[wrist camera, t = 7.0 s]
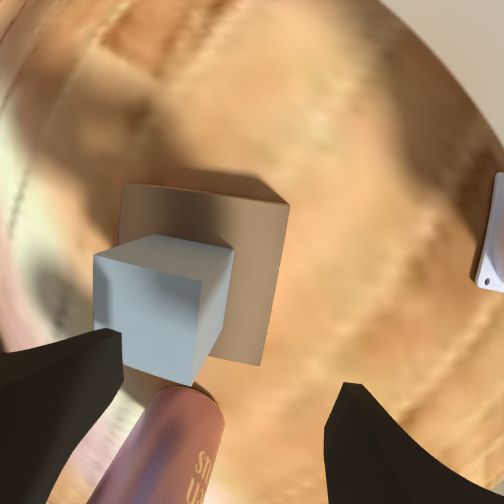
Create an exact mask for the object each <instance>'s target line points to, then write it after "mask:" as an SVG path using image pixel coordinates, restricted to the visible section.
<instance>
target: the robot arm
mask: <svg viewBox="0 0 504 504" xmlns="http://www.w3.org/2000/svg"><path fill="white" fill-rule="evenodd" d="M486 279H487V281H486V283H485V280H486ZM475 284H476V286H478V287H480V288H484V289H490V290H495V291H500V292H504V173H503V172H498V173H497V174H496V175H495V182H494V190H493V197H492V204H491V210H490V216H489V222H488V227H487V232H486V237H485V242H484V246H483V250H482V255H481V259H480V263H479V266H478V270H477V274H476V277H475ZM123 381H124V375H123V357H122V333H121V332H118V331H115V330H112V329H109V328H102V329H98V330H94V331H91V332H88V333H84V334H81V335H78V336H75V337H71V338H68V339H65V340H61V341H58V342H55V343H51V344H47V345H43V346H39V347H35V348H31V349H27V350H22V351H17V352H11V353H3V354H0V504H46V502H47V499H48V497H49V495H50V493H51V490H52V488H53V486H54V484H55V482H56V481H57V479H58V477H59V475H60V473H61V471H62V469H63V467H64V466H65V464H66V462H67V461H68V459H69V457H70V455H71V454H72V452H73V451H74V449H75V448H76V446H77V445H78V444H79V442H80V441H81V440H82V439H83V437H84V436H85V435H86V434H87V432H88V431H89V430H90V429H91V427H92V426H93V425H94V424H95V423H96V421H97V420H98V419H99V418H100V416H101V415H102V414H103V413H104V411H105V410H106V409H107V407H108V406H109V405H110V404H111V402H112V401H113V399H114V397H115V396H116V394H117V392H118V390H119V389H120V387H121V385H122V383H123ZM324 462H325V472H326V481H327V491H328V501H329V504H504V496H502V495H499V494H496V493H494V492H492V491H489V490H487V489H485V488H482V487H480V486H478V485H476V484H474V483H472V482H470V481H469V480H467V479H465V478H464V477H462V476H460V475H459V474H457V473H455V472H454V471H452V470H451V469H449V468H448V467H446V466H445V465H443V464H442V463H441V462H439V461H438V460H437V459H435V458H434V457H433V456H432V455H430V454H429V453H428V452H427V451H425V450H424V449H423V448H422V447H421V446H420V445H419V444H418V443H417V442H416V441H414V440H413V439H412V438H411V437H410V436H409V435H408V434H407V433H406V432H405V431H404V430H403V429H402V428H401V427H400V426H399V425H398V424H397V423H396V421H395V420H394V419H393V418H392V417H391V416H390V415H389V414H388V413H387V412H386V410H385V409H384V408H383V407H382V406H381V405H380V404H379V402H378V401H377V400H376V399H375V398H374V397H373V396H372V395H371V393H370V392H369V391H368V390H367V389H366V388H365V387H364V386H363V385H362V384H356V383H347V382H344V383H343V385H342V388H341V390H340V393H339V395H338V397H337V400H336V402H335V404H334V407H333V409H332V411H331V414H330V416H329V418H328V420H327V422H326V425H325V427H324Z"/></svg>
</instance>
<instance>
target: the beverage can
mask: <svg viewBox="0 0 504 504" xmlns="http://www.w3.org/2000/svg"><path fill="white" fill-rule="evenodd" d="M224 426H225V422H224V417H223V415H222V413H221V411H220V409H219V408H218V406H217V405H216V403H215V402H214V401H213V400H212V399H211V398H209V397H208V396H206V395H205V394H203V393H201V392H199V391H197V390H195V389H191V388H187V387H170V388H166V389H163V390H161V391H159V392H157V393H156V394H155V395H154V396H153V397H152V399H151V401H150V402H149V404H148V405H147V407H146V409H145V410H144V412H143V413H142V415H141V416H140V418H139V420H138V421H137V423H136V424H135V426H134V428H133V429H132V431H131V432H130V434H129V436H128V437H127V439H126V440H125V442H124V444H123V445H122V447H121V448H120V450H119V452H118V453H117V455H116V456H115V458H114V460H113V461H112V463H111V464H110V466H109V468H108V469H107V471H106V472H105V474H104V476H103V477H102V479H101V480H100V482H99V484H98V485H97V487H96V488H95V490H94V492H93V493H92V495H91V496H90V498H89V500H88V501H87V503H86V504H202V503H203V500H204V497H205V493H206V490H207V486H208V483H209V479H210V476H211V472H212V469H213V466H214V462H215V459H216V455H217V451H218V448H219V444H220V441H221V437H222V434H223V430H224Z"/></svg>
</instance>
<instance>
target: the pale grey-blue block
mask: <svg viewBox="0 0 504 504" xmlns="http://www.w3.org/2000/svg"><path fill="white" fill-rule="evenodd" d="M234 252H235V250H234V249H229V248H223V247H218V246H213V245H208V244H203V243H198V242H193V241H188V240H183V239H178V238H173V237H168V236H163V235H158V234H153V235H150V236H147V237H144V238H141V239H138V240H135V241H132V242H129V243H126V244H123V245H120V246H117V247H114V248H111V249H108V250H105V251H102V252H100V253H97V254H94V255H93V311H94V330H98V329H102V328H109V329H112V330H115V331H118V332H121V333H122V357H123V364H124V365H126V366H129V367H132V368H134V369H137V370H140V371H143V372H146V373H149V374H152V375H155V376H158V377H161V378H164V379H167V380H170V381H174V382H177V383H180V384H183V385H187V386H190V387H191V386H192V384H193V382H194V380H195V378H196V377H197V375H198V373H199V371H200V369H201V367H202V365H203V364H204V362H205V360H206V358H207V356H208V354H209V353H210V351H211V349H212V347H213V345H214V343H215V341H216V340H217V338H218V336H219V334H220V332H221V330H222V328H223V322H224V315H225V309H226V302H227V296H228V289H229V283H230V277H231V270H232V264H233V258H234Z"/></svg>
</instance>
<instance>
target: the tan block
mask: <svg viewBox="0 0 504 504" xmlns="http://www.w3.org/2000/svg"><path fill="white" fill-rule="evenodd" d="M289 210H290V205H289V204H285V203H279V202H273V201H267V200H261V199H255V198H248V197H242V196H235V195H229V194H222V193H215V192H208V191H201V190H193V189H185V188H178V187H170V186H161V185H153V184H144V183H131V184H123V188H122V198H121V208H120V220H119V235H118V246H120V245H123V244H126V243H129V242H132V241H135V240H138V239H141V238H144V237H147V236H150V235H153V234H158V235H163V236H168V237H173V238H178V239H183V240H188V241H193V242H198V243H203V244H208V245H213V246H218V247H223V248H229V249H234V250H235V252H234V258H233V264H232V270H231V277H230V283H229V289H228V296H227V302H226V309H225V315H224V322H223V328H222V330H221V332H220V334H219V336H218V338H217V340H216V341H215V343H214V345H213V347H212V349H211V351H210V353H209V354H208V356H211V357H216V358H221V359H225V360H230V361H235V362H240V363H245V364H251V365H256V366H260V364H261V359H262V354H263V349H264V344H265V339H266V334H267V329H268V324H269V319H270V314H271V309H272V304H273V299H274V293H275V288H276V283H277V277H278V272H279V267H280V261H281V256H282V250H283V244H284V239H285V233H286V227H287V222H288V216H289Z"/></svg>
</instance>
